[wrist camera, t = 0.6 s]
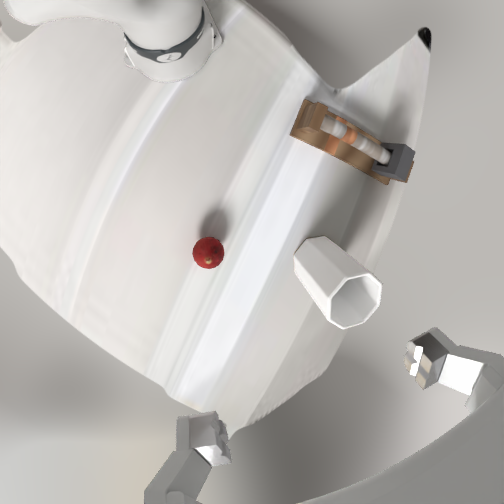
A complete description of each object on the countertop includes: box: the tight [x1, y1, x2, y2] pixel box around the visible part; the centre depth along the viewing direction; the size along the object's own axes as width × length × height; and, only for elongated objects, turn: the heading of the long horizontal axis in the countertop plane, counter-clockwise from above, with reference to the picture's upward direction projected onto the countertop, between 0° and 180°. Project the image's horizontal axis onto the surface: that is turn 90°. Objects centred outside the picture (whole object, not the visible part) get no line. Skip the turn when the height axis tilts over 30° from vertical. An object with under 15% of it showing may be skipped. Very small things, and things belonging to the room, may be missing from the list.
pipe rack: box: [290, 99, 414, 185], centre depth 48 cm, size 25×8×8 cm, turn 69°
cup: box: [294, 236, 383, 329], centre depth 51 cm, size 11×11×18 cm
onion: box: [193, 237, 224, 269], centre depth 50 cm, size 6×6×8 cm
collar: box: [371, 143, 415, 181], centre depth 47 cm, size 3×6×8 cm, turn 159°
